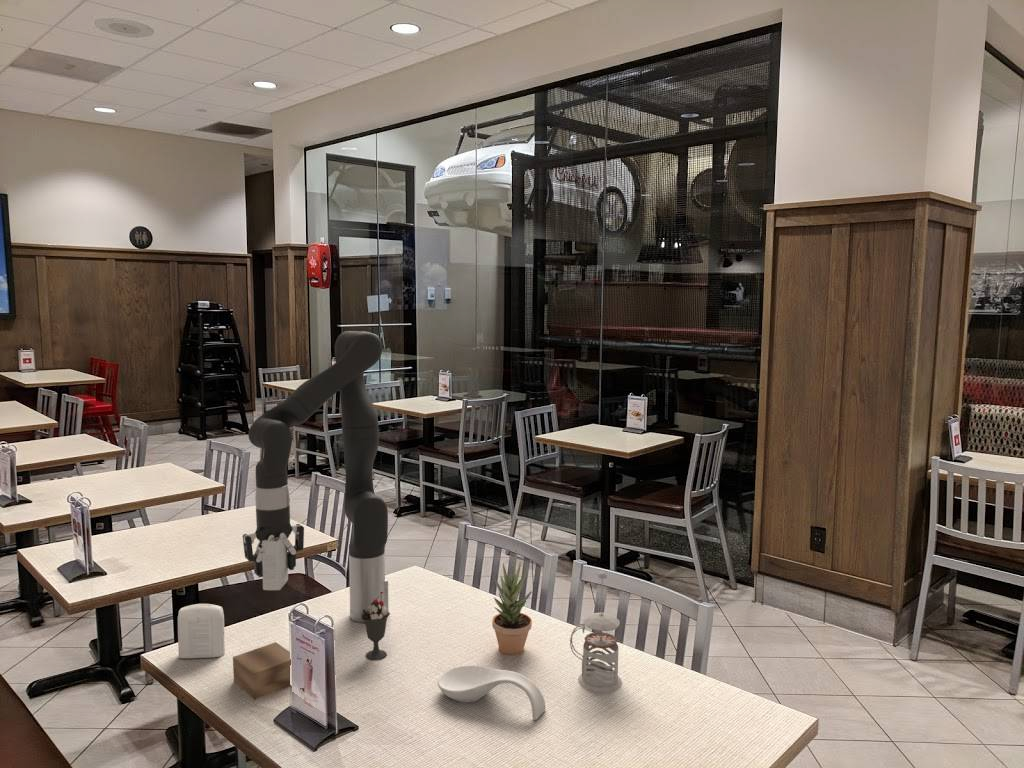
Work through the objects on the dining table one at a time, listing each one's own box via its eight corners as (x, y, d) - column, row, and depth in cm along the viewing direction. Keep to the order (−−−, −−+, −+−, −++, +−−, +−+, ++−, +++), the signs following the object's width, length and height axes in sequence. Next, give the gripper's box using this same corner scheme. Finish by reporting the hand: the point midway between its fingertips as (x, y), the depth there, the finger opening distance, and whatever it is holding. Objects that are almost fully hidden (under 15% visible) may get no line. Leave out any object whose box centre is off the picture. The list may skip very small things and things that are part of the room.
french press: (621, 695, 157) (624, 582, 154) (566, 689, 159) (568, 577, 156) (623, 672, 166) (626, 565, 163) (572, 666, 168) (574, 561, 166)
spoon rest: (427, 701, 154) (427, 669, 153) (455, 676, 164) (455, 645, 164) (529, 731, 144) (530, 696, 143) (553, 702, 154) (553, 669, 153)
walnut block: (276, 667, 168) (275, 642, 167) (298, 683, 161) (297, 657, 160) (233, 683, 161) (232, 656, 160) (254, 700, 154) (253, 673, 153)
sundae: (393, 649, 176) (393, 589, 175) (386, 662, 170) (385, 600, 168) (366, 647, 177) (365, 587, 175) (358, 661, 170) (357, 599, 169)
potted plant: (531, 658, 172) (532, 557, 169) (491, 657, 172) (491, 556, 170) (531, 639, 182) (532, 542, 179) (493, 638, 182) (493, 542, 179)
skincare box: (270, 580, 177) (268, 531, 175) (289, 580, 177) (287, 531, 175) (262, 591, 170) (259, 540, 169) (281, 591, 170) (279, 540, 169)
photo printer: (227, 649, 175) (225, 599, 174) (222, 658, 171) (220, 607, 170) (182, 652, 174) (179, 602, 173) (176, 660, 170) (173, 609, 168)
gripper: (296, 495, 178) (299, 561, 180) (236, 505, 170) (239, 574, 172) (308, 502, 172) (310, 570, 174) (246, 513, 164) (249, 584, 166)
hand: (275, 572), depth 173 cm, fingers closed on skincare box, 6 cm apart
